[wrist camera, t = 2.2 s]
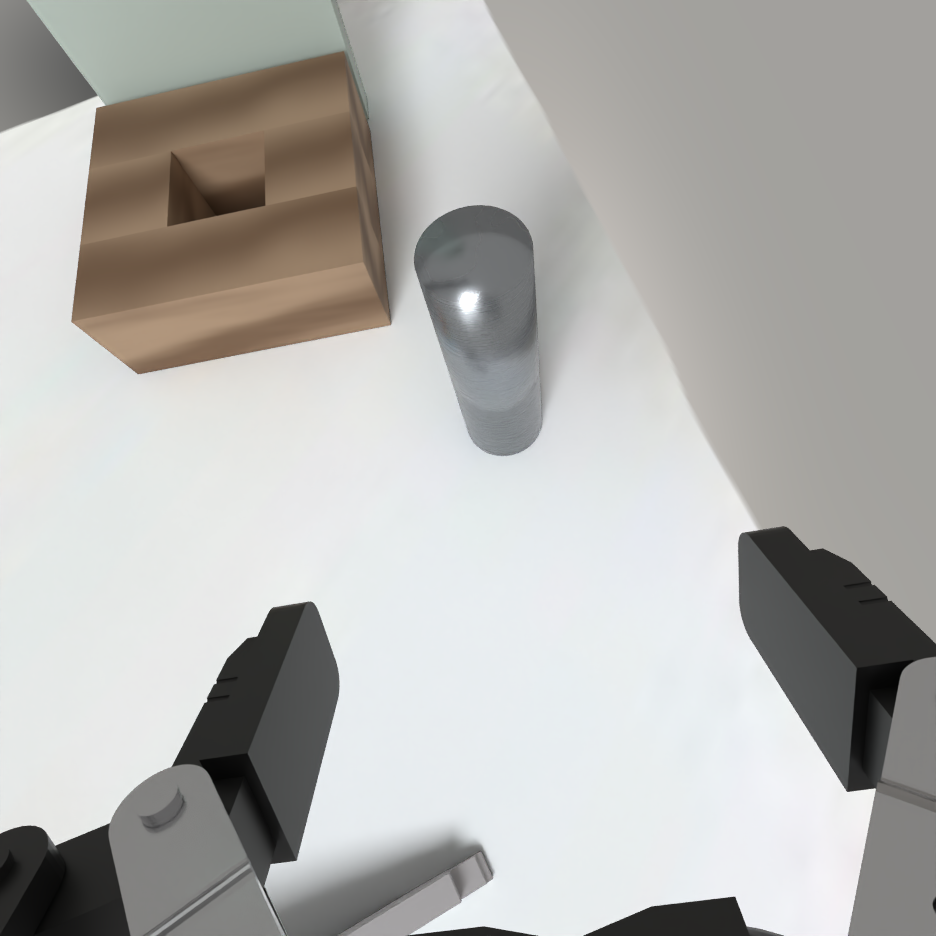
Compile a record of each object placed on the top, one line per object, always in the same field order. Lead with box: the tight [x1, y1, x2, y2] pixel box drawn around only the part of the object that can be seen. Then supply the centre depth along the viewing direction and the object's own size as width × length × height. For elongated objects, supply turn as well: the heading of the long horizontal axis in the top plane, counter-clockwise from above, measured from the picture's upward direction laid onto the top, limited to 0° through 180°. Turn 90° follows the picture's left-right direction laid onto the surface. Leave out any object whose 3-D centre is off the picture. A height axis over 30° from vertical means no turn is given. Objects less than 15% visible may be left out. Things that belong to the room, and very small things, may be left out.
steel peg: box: [414, 205, 542, 456], centre depth 24 cm, size 4×4×12 cm
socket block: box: [71, 51, 391, 374], centre depth 33 cm, size 14×14×5 cm
